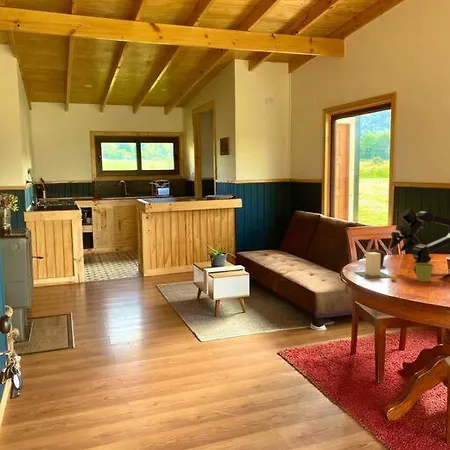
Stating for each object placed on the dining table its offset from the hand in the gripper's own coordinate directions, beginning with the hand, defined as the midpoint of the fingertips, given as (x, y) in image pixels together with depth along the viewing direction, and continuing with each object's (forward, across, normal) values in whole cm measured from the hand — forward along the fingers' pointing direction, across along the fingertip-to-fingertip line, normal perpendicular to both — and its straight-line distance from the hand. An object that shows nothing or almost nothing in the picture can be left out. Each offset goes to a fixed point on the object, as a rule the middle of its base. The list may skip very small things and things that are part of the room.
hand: (395, 249), depth 253 cm
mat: (+20, 0, -1) cm, 20 cm away
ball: (+18, +15, +1) cm, 24 cm away
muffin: (+9, -21, +11) cm, 25 cm away
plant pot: (+8, +20, +11) cm, 25 cm away
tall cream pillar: (+20, 0, -1) cm, 20 cm away
